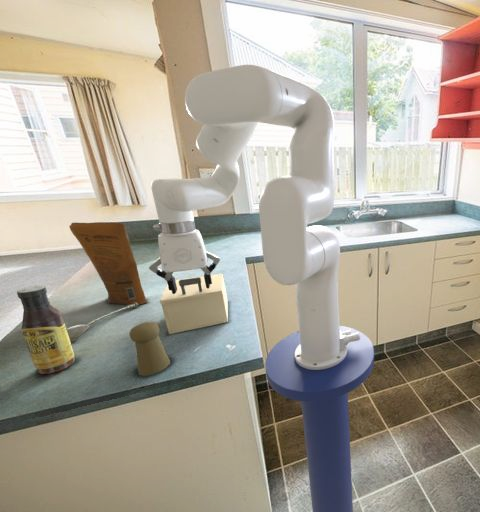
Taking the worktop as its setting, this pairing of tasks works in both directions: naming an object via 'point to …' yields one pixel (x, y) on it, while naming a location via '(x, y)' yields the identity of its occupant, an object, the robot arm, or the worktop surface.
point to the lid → (193, 288)
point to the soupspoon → (80, 329)
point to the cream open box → (196, 312)
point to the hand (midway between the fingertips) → (191, 288)
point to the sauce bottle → (44, 331)
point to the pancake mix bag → (111, 259)
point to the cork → (149, 349)
